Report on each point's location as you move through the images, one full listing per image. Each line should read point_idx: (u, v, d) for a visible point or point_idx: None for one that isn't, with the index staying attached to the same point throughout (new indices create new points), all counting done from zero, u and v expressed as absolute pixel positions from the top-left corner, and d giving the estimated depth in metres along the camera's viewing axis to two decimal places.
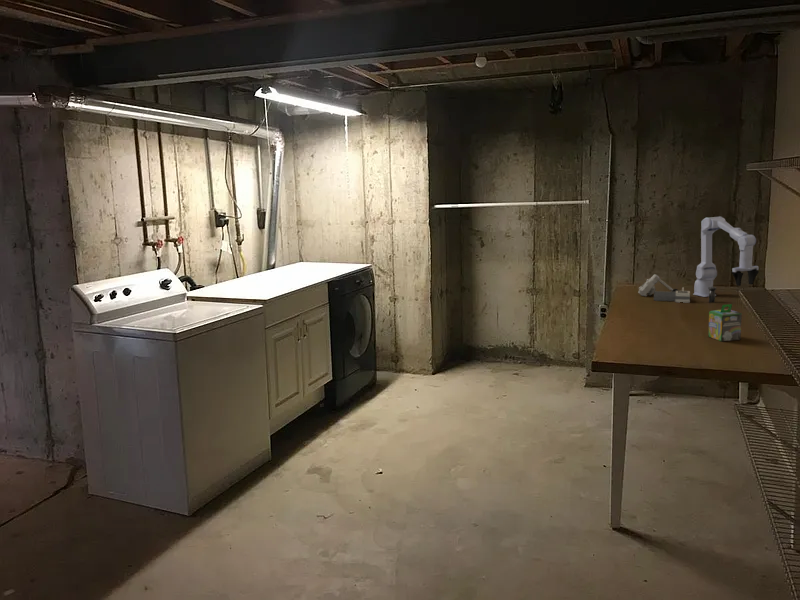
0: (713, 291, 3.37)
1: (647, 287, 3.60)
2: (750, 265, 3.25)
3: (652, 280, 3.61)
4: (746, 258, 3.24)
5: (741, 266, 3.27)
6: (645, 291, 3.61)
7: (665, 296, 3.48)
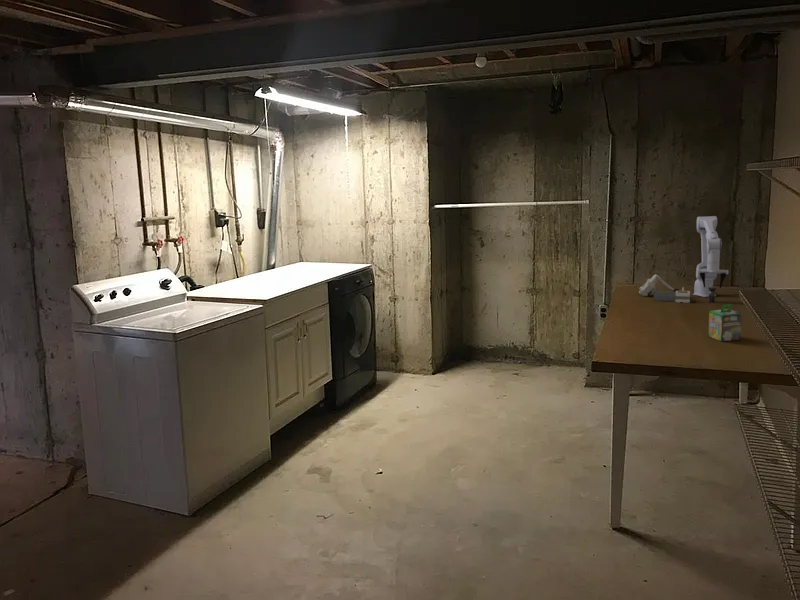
0: (713, 291, 3.37)
1: (648, 287, 3.60)
2: (714, 268, 3.34)
3: (653, 280, 3.61)
4: (710, 261, 3.34)
5: (707, 268, 3.37)
6: (646, 291, 3.61)
7: (665, 296, 3.48)
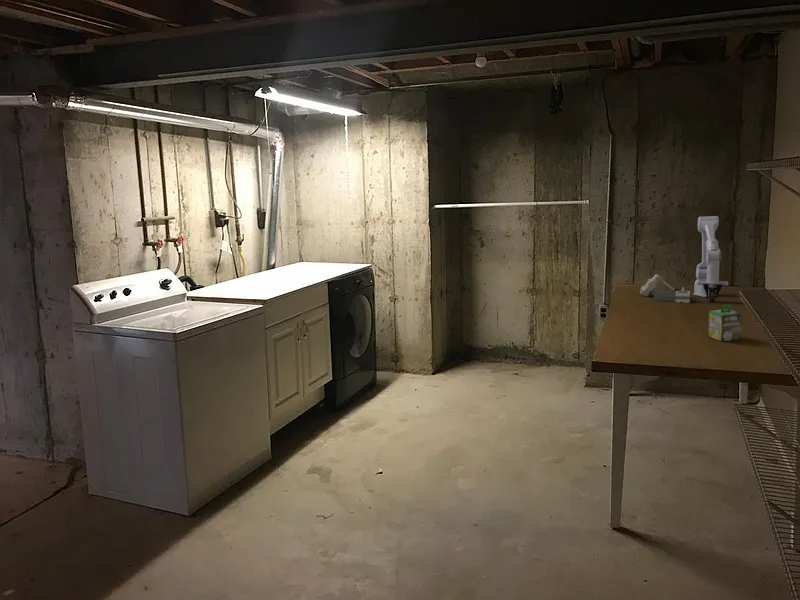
0: (713, 291, 3.37)
1: (649, 287, 3.60)
2: (713, 279, 3.35)
3: (654, 280, 3.61)
4: (710, 272, 3.35)
5: (706, 280, 3.38)
6: (647, 291, 3.61)
7: (665, 296, 3.48)
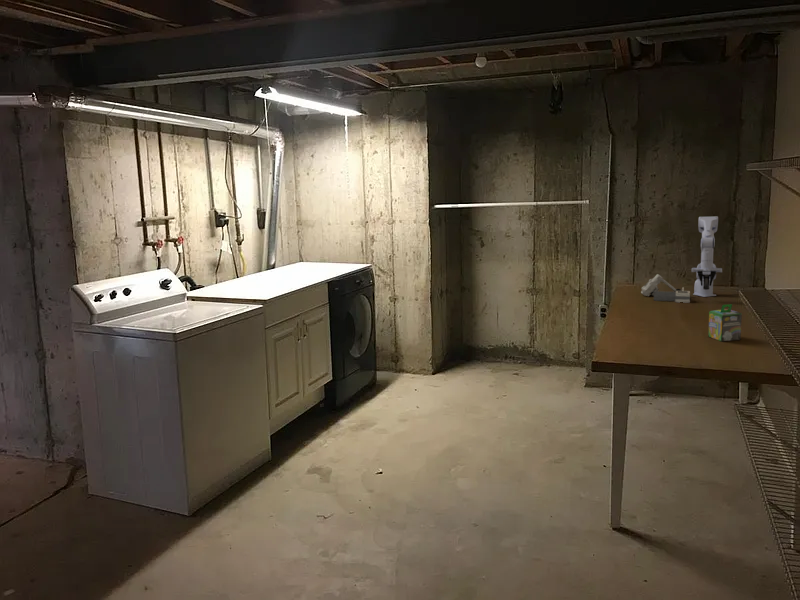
0: (707, 278, 3.37)
1: (650, 287, 3.60)
2: (707, 266, 3.35)
3: (655, 280, 3.61)
4: (703, 259, 3.36)
5: (700, 267, 3.38)
6: (648, 291, 3.60)
7: (665, 296, 3.48)
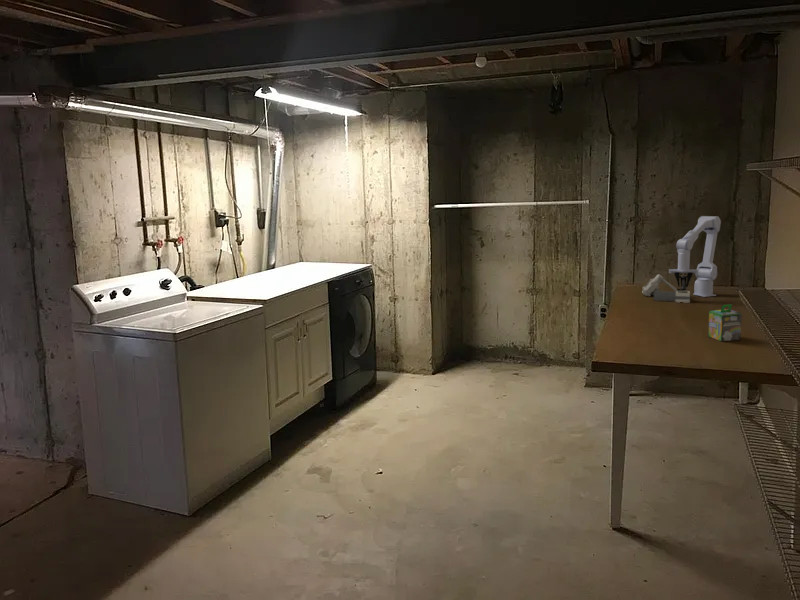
0: (684, 279, 3.42)
1: (651, 287, 3.59)
2: (684, 267, 3.39)
3: (656, 280, 3.61)
4: (678, 260, 3.42)
5: None
6: (649, 291, 3.60)
7: (665, 296, 3.48)
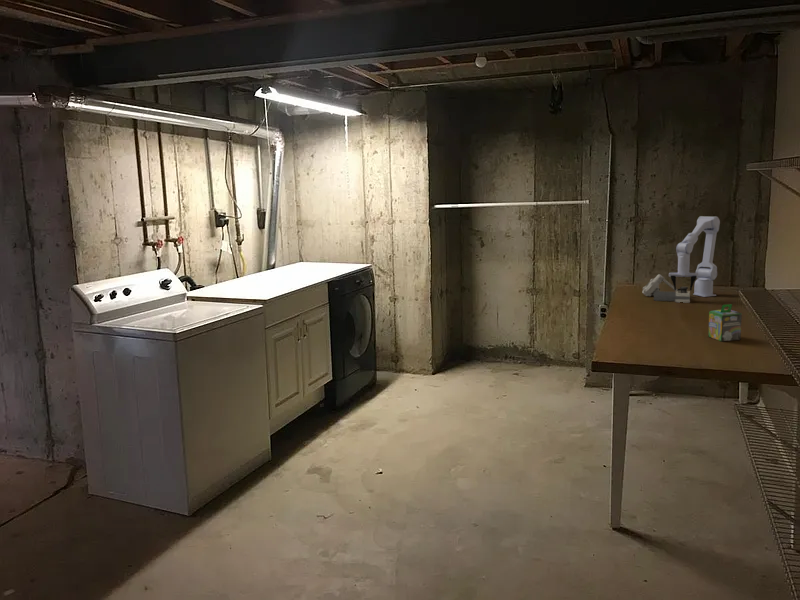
0: (684, 290, 3.43)
1: (651, 287, 3.59)
2: (684, 271, 3.40)
3: (656, 280, 3.60)
4: (678, 264, 3.42)
5: None
6: (650, 291, 3.60)
7: (665, 296, 3.48)
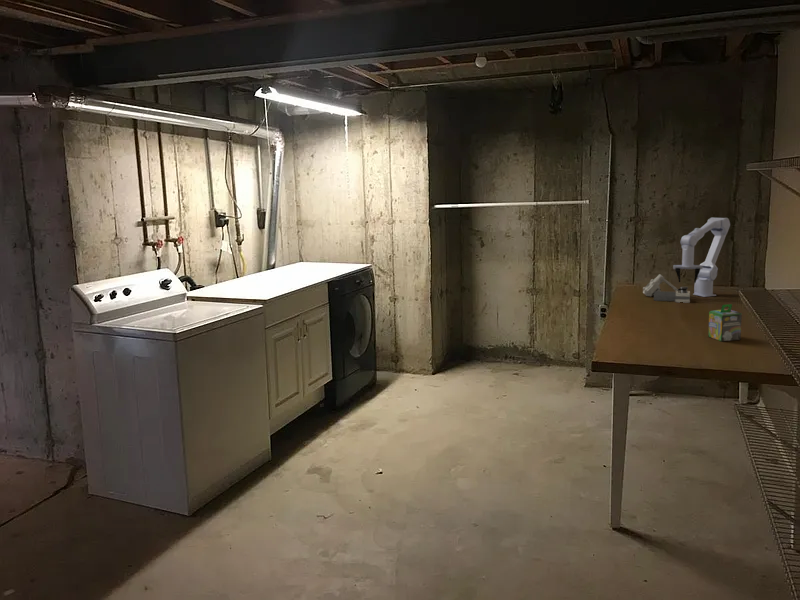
0: (684, 290, 3.43)
1: (653, 287, 3.59)
2: (688, 263, 3.44)
3: (657, 280, 3.60)
4: (682, 256, 3.47)
5: (682, 264, 3.48)
6: (651, 291, 3.59)
7: (665, 296, 3.48)
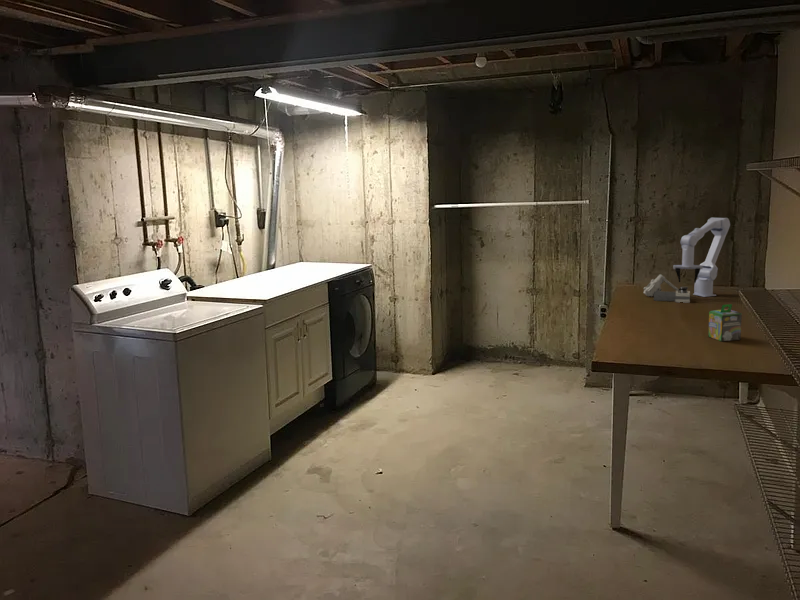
0: (684, 290, 3.43)
1: (654, 287, 3.58)
2: (688, 263, 3.44)
3: (658, 280, 3.60)
4: (682, 256, 3.47)
5: (682, 264, 3.48)
6: (652, 291, 3.59)
7: (665, 296, 3.48)
